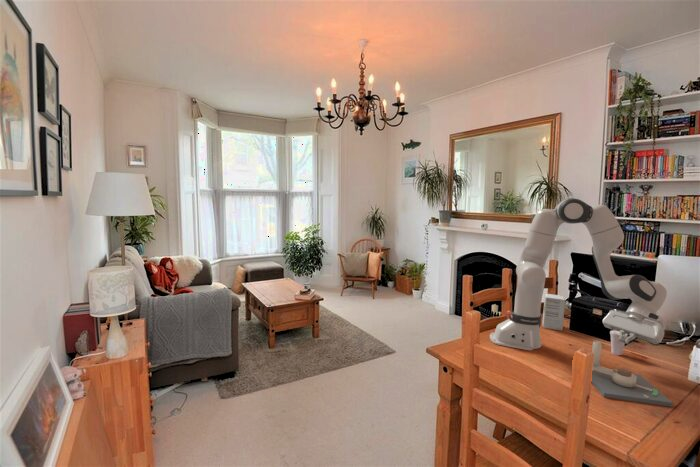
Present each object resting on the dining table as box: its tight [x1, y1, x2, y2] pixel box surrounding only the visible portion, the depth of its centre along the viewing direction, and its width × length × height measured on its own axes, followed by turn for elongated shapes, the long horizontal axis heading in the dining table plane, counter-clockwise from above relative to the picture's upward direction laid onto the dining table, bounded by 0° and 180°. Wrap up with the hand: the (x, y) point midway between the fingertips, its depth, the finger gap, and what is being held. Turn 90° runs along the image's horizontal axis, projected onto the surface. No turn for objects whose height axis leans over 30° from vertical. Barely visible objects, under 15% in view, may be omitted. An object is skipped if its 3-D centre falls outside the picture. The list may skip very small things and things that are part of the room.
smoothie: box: [609, 329, 628, 356], centre depth 160 cm, size 6×6×14 cm
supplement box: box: [541, 293, 566, 331], centre depth 194 cm, size 10×9×17 cm
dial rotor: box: [591, 340, 652, 391], centre depth 131 cm, size 18×7×12 cm, turn 44°
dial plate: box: [591, 370, 674, 408], centre depth 131 cm, size 20×20×2 cm
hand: (622, 341), depth 145 cm, fingers closed
